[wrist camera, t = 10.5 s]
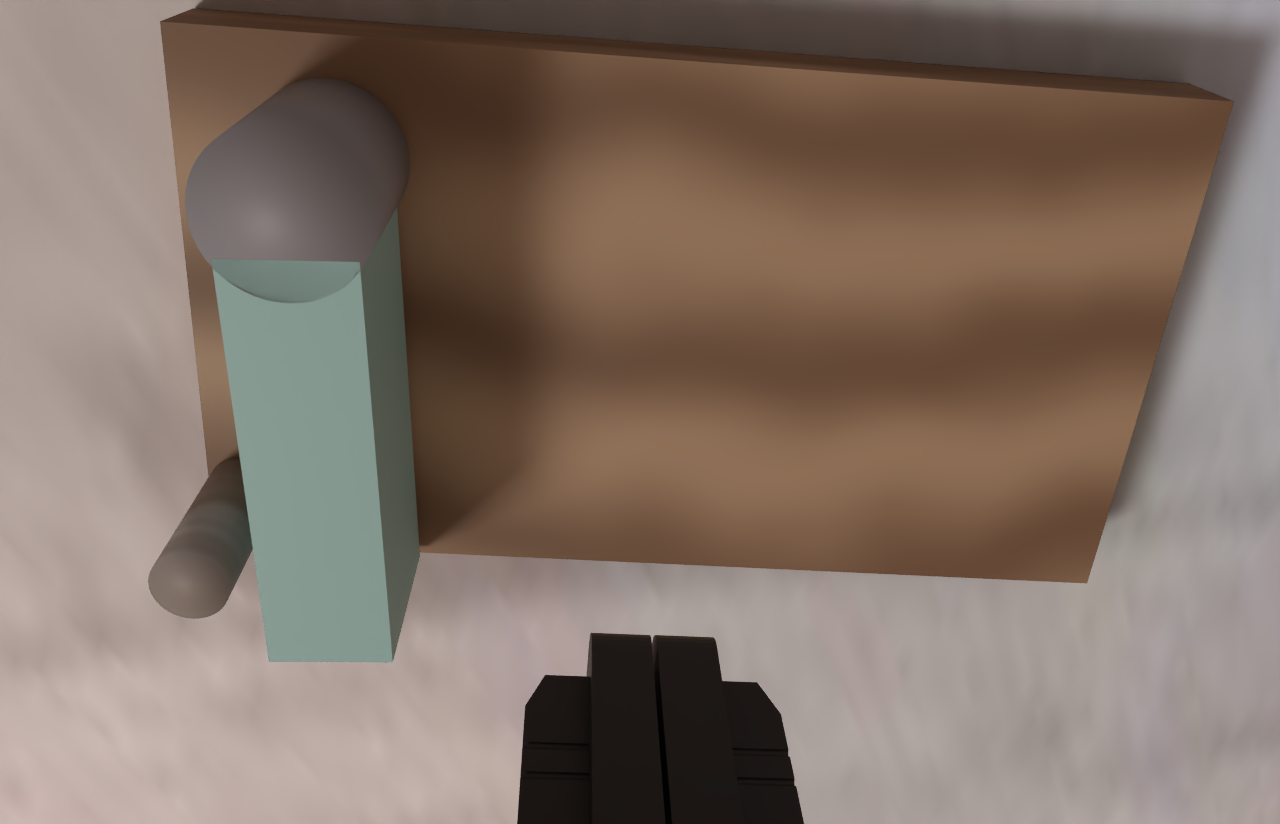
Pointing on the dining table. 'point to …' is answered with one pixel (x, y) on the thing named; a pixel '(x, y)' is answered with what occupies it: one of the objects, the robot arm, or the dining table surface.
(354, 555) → the hinged leg
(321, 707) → the dining table surface
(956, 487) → the board
